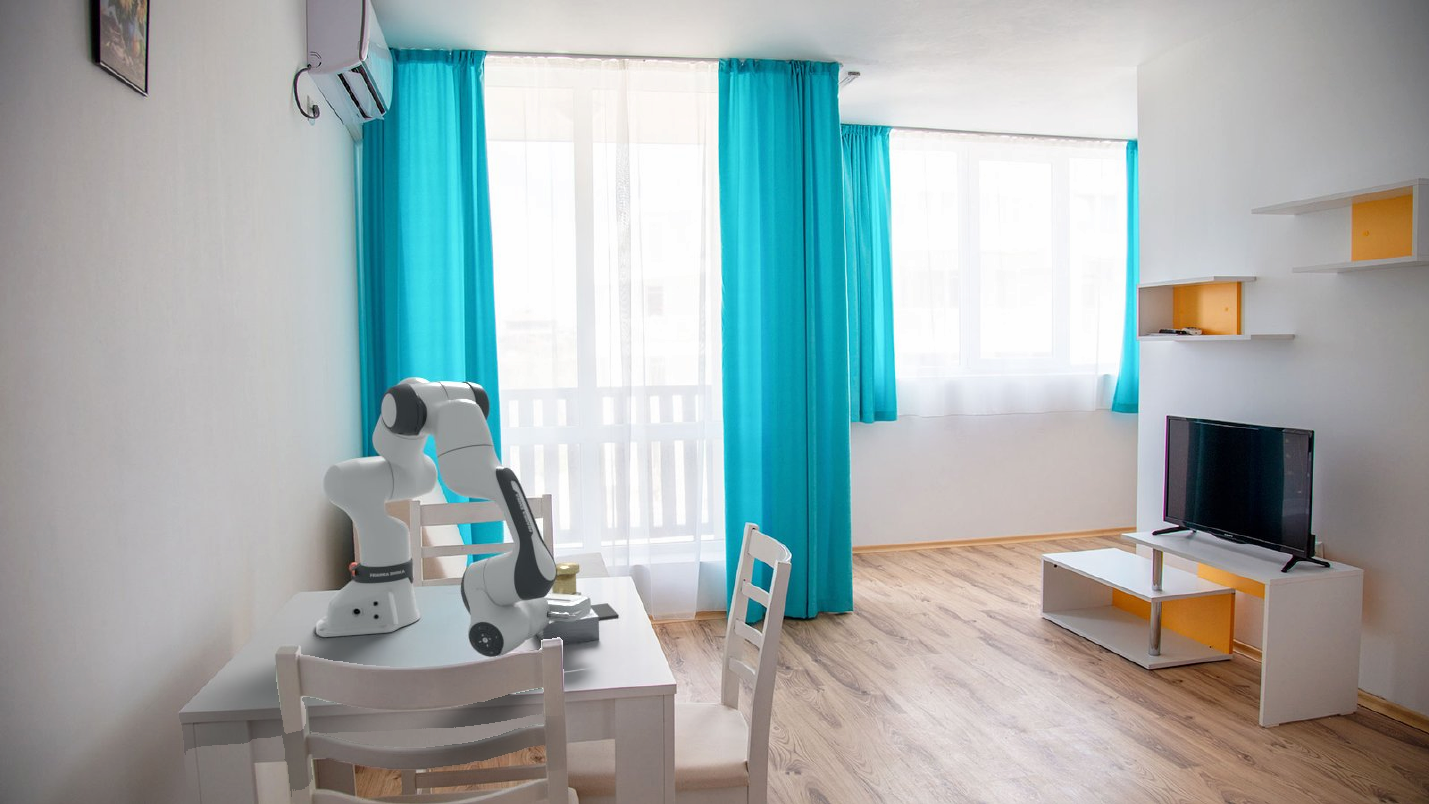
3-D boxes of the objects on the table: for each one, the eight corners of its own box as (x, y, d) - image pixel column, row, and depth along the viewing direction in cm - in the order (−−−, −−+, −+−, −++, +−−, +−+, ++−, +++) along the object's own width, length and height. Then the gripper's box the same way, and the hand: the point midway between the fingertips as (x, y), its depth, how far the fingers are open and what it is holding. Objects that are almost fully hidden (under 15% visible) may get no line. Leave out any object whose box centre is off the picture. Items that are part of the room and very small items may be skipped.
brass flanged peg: (553, 632, 181) (551, 571, 181) (547, 623, 188) (545, 564, 187) (584, 628, 184) (582, 568, 183) (577, 619, 190) (575, 561, 189)
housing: (543, 647, 178) (543, 624, 178) (533, 630, 189) (532, 608, 189) (599, 639, 182) (598, 616, 182) (586, 623, 194) (585, 601, 193)
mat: (576, 623, 194) (576, 620, 194) (567, 610, 203) (566, 608, 203) (618, 617, 198) (618, 614, 197) (607, 605, 207) (607, 603, 207)
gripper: (574, 602, 166) (602, 583, 179) (482, 594, 172) (516, 577, 185) (575, 633, 167) (603, 612, 180) (483, 625, 172) (517, 605, 185)
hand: (558, 594), depth 183 cm, fingers open, 8 cm apart
